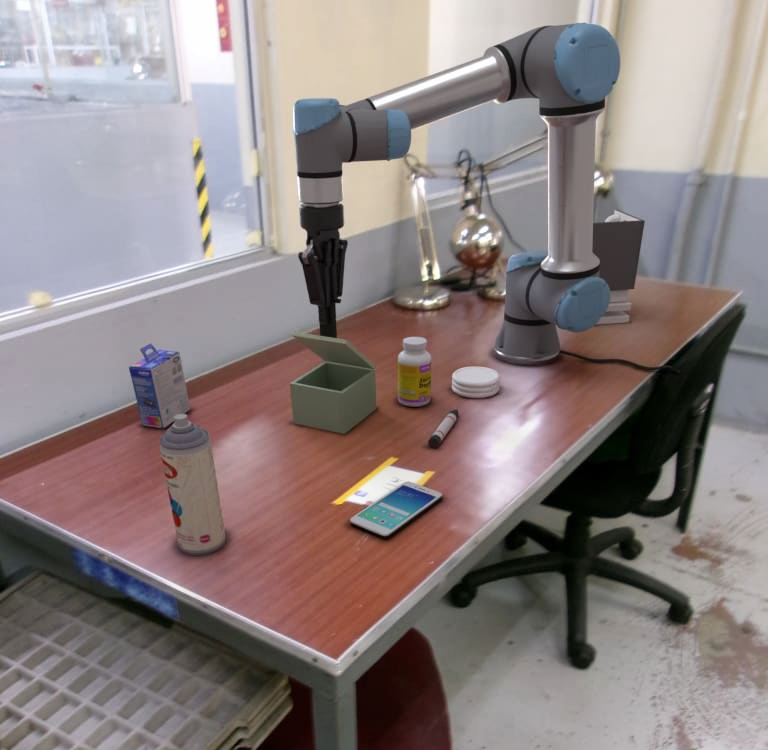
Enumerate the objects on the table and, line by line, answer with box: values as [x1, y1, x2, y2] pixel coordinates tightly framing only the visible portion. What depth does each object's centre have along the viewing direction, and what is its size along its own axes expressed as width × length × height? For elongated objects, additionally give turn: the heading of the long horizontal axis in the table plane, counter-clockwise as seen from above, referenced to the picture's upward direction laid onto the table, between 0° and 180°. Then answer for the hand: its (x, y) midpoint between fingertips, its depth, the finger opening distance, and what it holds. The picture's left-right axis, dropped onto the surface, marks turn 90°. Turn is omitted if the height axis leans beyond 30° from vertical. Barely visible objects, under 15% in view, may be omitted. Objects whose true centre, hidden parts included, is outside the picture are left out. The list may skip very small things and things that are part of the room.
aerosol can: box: [159, 413, 227, 556], centre depth 104 cm, size 7×7×20 cm
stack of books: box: [592, 209, 645, 326], centre depth 193 cm, size 16×19×25 cm
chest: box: [289, 361, 377, 435], centre depth 144 cm, size 13×11×8 cm
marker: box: [427, 408, 459, 449], centre depth 140 cm, size 15×2×2 cm, turn 159°
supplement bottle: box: [397, 336, 432, 408], centre depth 149 cm, size 7×7×13 cm
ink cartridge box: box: [128, 343, 191, 429], centre depth 144 cm, size 10×6×14 cm, turn 161°
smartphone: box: [349, 480, 443, 540], centre depth 115 cm, size 8×1×15 cm
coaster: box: [451, 365, 501, 399], centre depth 156 cm, size 10×10×4 cm
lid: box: [291, 331, 377, 371], centre depth 141 cm, size 14×11×1 cm
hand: (328, 339), depth 138 cm, fingers closed
